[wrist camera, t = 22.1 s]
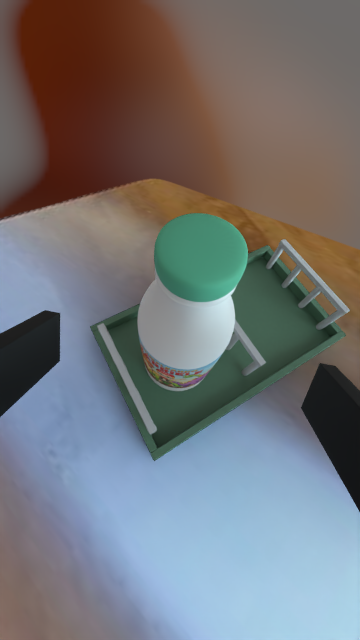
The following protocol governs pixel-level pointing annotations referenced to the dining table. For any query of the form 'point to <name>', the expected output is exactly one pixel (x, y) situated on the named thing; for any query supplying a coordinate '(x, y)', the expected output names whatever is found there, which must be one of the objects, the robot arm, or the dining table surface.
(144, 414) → the drying rack
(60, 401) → the dining table surface
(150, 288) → the milk bottle
